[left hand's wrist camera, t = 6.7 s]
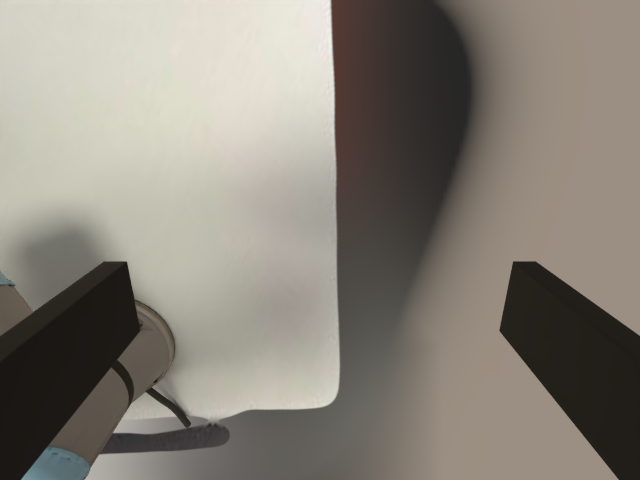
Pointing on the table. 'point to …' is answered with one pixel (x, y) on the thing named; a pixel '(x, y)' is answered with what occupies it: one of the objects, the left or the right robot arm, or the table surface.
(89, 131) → the table surface
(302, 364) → the table surface
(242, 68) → the table surface
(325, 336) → the table surface
